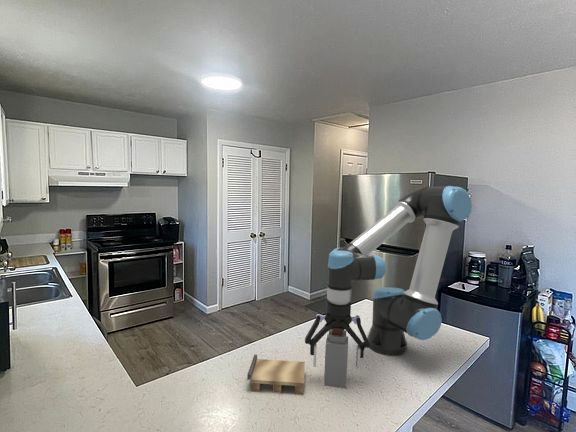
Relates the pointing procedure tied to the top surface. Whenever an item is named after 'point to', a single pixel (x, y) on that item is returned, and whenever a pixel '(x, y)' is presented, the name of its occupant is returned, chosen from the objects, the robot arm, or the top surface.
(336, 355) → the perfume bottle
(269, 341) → the top surface
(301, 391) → the platform
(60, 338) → the top surface
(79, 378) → the top surface
